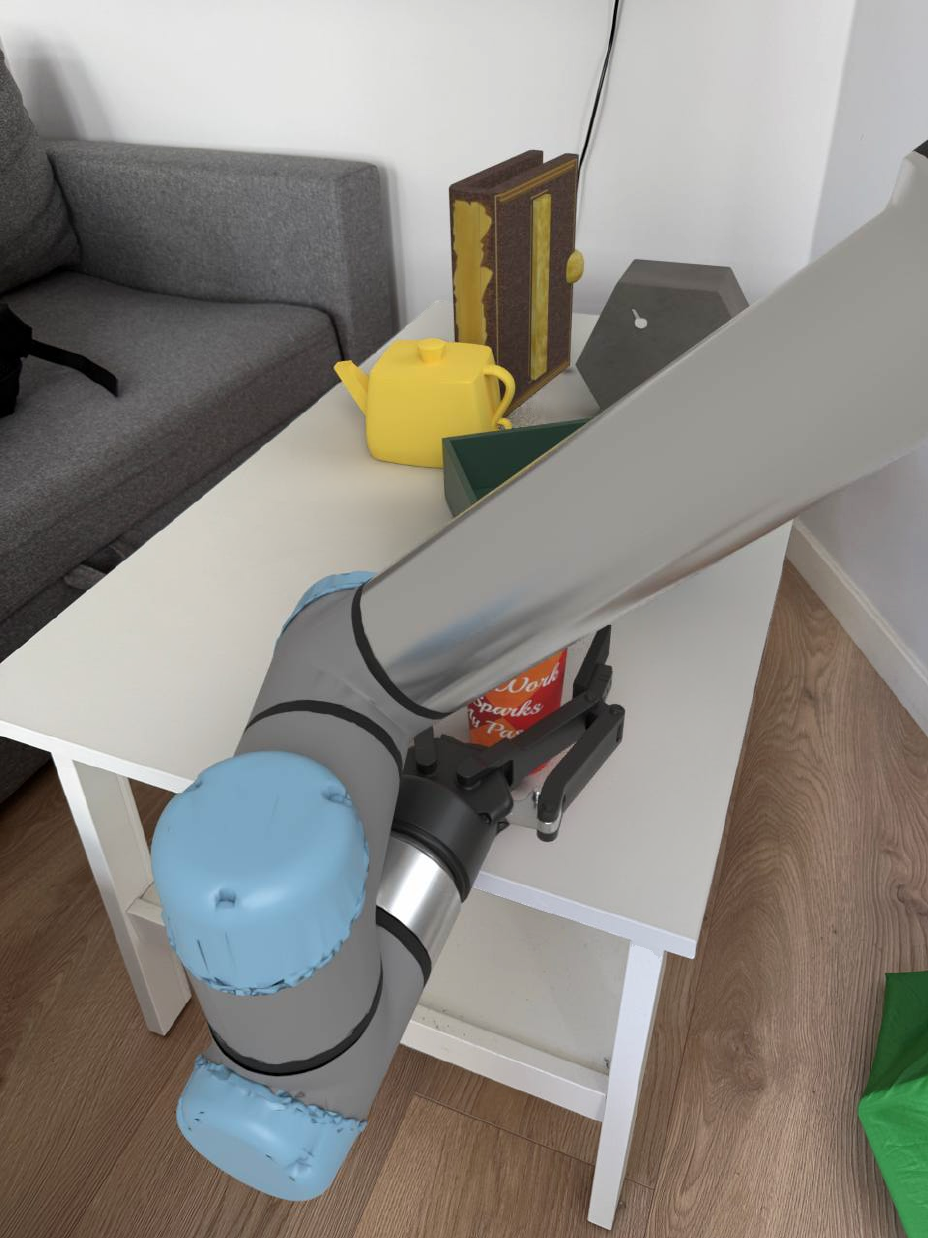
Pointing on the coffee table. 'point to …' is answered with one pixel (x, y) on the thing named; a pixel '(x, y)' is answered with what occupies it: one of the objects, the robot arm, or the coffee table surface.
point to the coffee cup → (518, 703)
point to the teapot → (427, 398)
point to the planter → (655, 323)
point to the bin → (495, 458)
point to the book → (517, 265)
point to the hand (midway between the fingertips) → (535, 623)
